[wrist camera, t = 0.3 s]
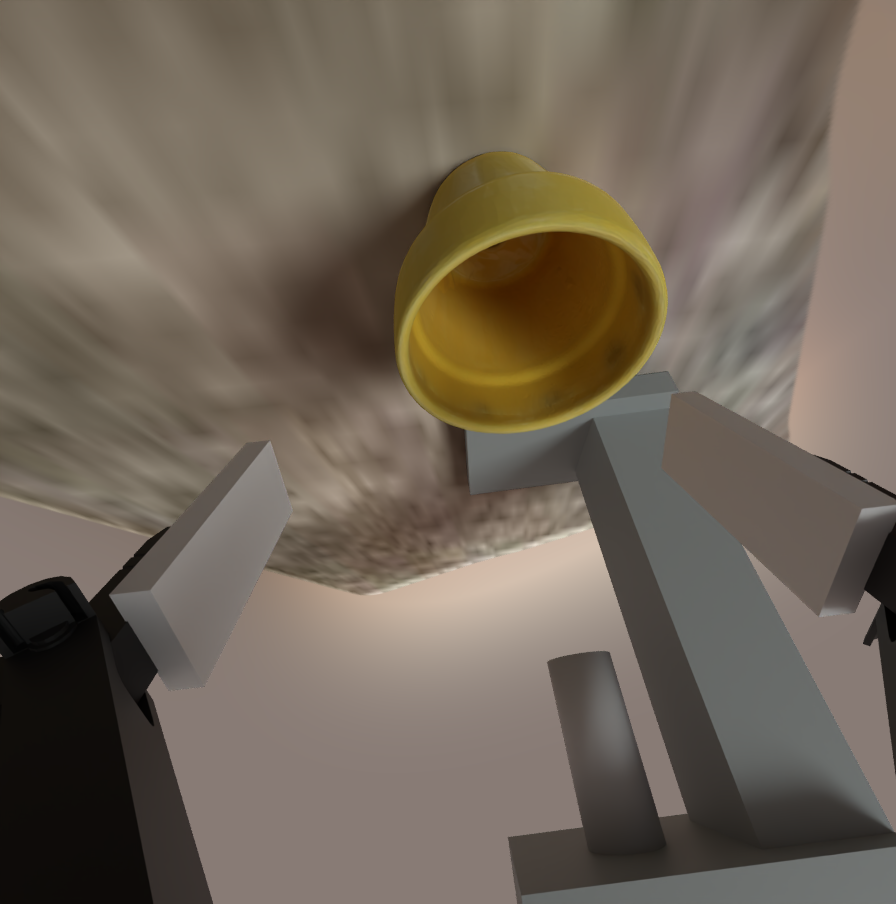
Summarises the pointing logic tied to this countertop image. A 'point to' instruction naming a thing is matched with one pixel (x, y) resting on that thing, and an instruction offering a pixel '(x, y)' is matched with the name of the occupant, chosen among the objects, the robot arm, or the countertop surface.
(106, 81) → the countertop surface
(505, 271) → the plant pot
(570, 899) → the press stand
